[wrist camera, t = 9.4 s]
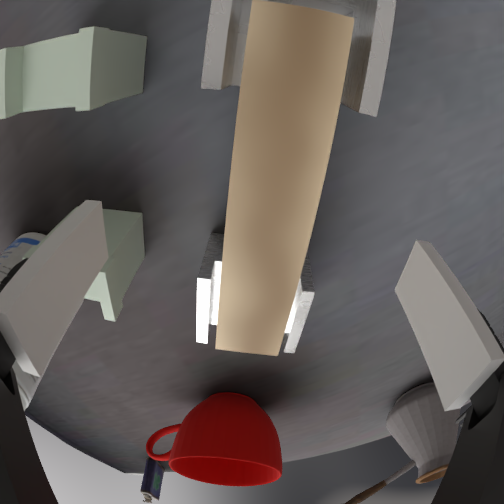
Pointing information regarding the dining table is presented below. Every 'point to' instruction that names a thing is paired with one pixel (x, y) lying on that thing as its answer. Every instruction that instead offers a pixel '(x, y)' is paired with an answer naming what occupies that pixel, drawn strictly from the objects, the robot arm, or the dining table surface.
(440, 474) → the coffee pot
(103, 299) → the rack
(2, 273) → the supplement tub
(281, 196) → the rail
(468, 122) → the dining table surface
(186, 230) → the dining table surface
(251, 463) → the ceramic cup
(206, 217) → the dining table surface
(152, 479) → the flask
